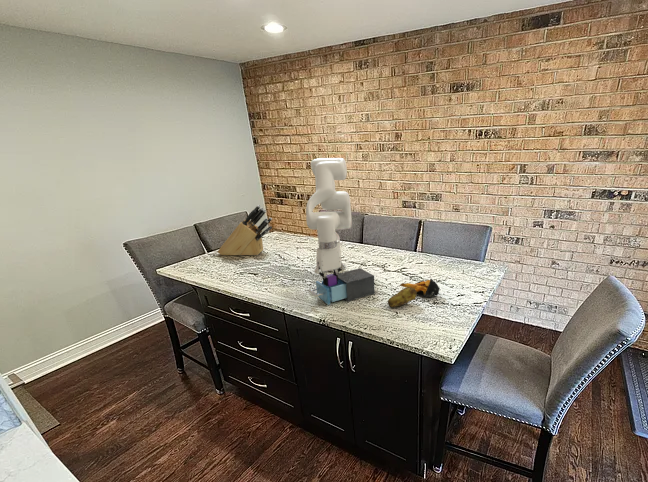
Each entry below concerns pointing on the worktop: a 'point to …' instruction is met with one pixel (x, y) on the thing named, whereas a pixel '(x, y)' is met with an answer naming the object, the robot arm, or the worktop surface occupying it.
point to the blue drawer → (330, 291)
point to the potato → (402, 297)
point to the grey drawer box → (357, 283)
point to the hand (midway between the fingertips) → (330, 283)
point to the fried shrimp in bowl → (424, 288)
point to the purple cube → (331, 280)
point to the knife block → (247, 236)
